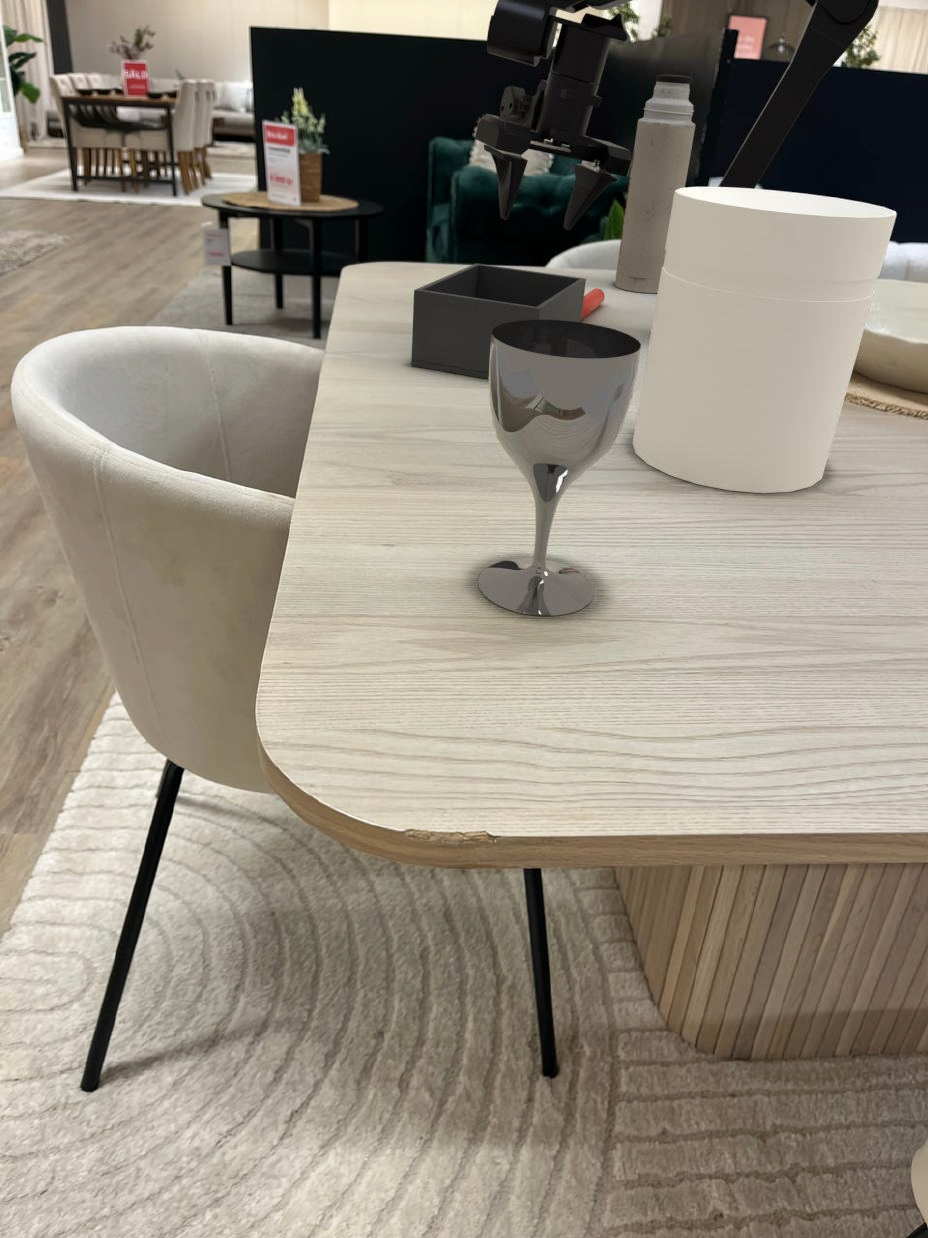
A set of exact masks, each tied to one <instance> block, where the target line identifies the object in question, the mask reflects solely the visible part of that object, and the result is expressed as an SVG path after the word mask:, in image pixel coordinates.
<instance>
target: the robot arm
mask: <svg viewBox="0 0 928 1238" xmlns="http://www.w3.org/2000/svg"><path fill="white" fill-rule="evenodd" d="M632 1H633V0H497V2H496V5H495V8H494V10H493V11H494V12H493V14H491V16H490V19H489V23H488V29H487V36H486V52H487V53H488V54H490V55H495V56H497V57H501V58H505V59H506V60H507V59H508V60H511V61H515V62H517V63H522V64H525V65H528V66H531V67H536V66H538V64H539V63H540V60H541V58H542V59H545V60H548V59H549V57H550V55H551V54H552V51H553V47H554V43H555V39H556V36H557V35H556V34H557V30H558V27H559V24H560V29H559V33H558V36H557V37H558V38H557V42H556V46H555V49H554V53H553V58H552V62H551V65H550V69H549V70H550V71H549V73H548V76H547V77H548V78H547V80H545V79H541V80H540V83H539V84H538V85H537V90H536V93H535V95H529V94H526V92H525V89H524V88H522V87H518V86H514V85H510V86H507V87H505V88H504V91H503V95H502V97H501V102H500V112H499V116H498V115H493V114H490V113H486V114H484V115H483V116H482V118H481V119H480V120H479V122H477V125H476V126H477V127H476V130H475V135H474V139H475V140H476V141H479V142H480V143H483V150H484V151H485V152H487V153H489V154H490V155H491V159H492V160H493V163H494V165H495V171H496V177H497V189H498V202H499V215H500V218H501V219H503V220H508V218H509V216H510V214H511V212H512V210H513V207H514V204H515V201H516V198H517V195H518V192H519V189H520V187H521V183H522V181H523V178H524V175H525V172H526V168H527V164H528V162H529V160H528V159H526V158H524V157H522V155H524V154H525V153H526V152H527V151H529V150H531V151H537V152H541V153H545V154H550V155H554V156H555V155H556V156H560V157H565V158H569V159H573V160H577V161H581V163H573V169H574V177H575V178H574V184H573V187H572V191H571V194H570V198H569V200H568V204H567V209H566V212H565V215H564V222H563V229H565V230H567V231H569V230H571V229H572V228H574V225H575V224H576V223H577V222H578V221H579V219H580V218H581V217H582V216H583V215H584V213H586V211H587V210H588V209H589V207H591V205H592V203H593V202H594V201H595V200H596V199H597V198H598V197H599V196H600V195H601V194H602V193H603V192H604V191H605V190H606V189H607V188H608V186H609V185H611V184H612V183H614V184H616V183H617V182H618V180H619V178H618V177H616V176H619V177H625V178H626V177H629V173H630V171H631V167H632V160H633V159H632V155H631V150H630V149H628V148H625V147H623V146H621V145H618V144H615V143H612V142H611V141H607V140H602V139H599V138H593V137H590V136H588V135H586V133H587V129H588V126H589V122H590V119H591V116H592V111H593V108H594V107H595V108H600V107H601V104H602V100H603V97H601V96H599V95H597V93H598V91H599V85H600V83H601V78H602V75H603V71H604V69H605V65H606V61H607V58H608V55H609V51H610V47H611V44H612V40H615V41H618V42H622V43H625V44H627V43H629V42H630V41H631V35H630V34H629V32H628V29H627V28H626V25H625V20H624V15H623V14H621V13H617V14H616V15H615V16H614V17H612V18H611V19H609V18H605V17H602V16H599V15H595V14H592V13H588V12H586V13H585V14H584V15H583V17H582V19H581V21H580V22H578V21H574V20H571V19H566V18H563V17H560V16H557V12H558V11H562V12H566V13H569V14H576V13H578V12H581V11H583V10H585V9H588V8H592V9H594V10H597V11H607V10H611V9H614V8H616V7H618V6H619V7H620V6H622V5H624V4H628V3H630V2H632ZM804 1H805V3H807V4H808V5H809V7H810V8H811V9H810V12H809V14H808V17H807V19H806V21H805V24H804V26H803V29H802V31H801V33H800V37H799V40H798V41H797V44H796V47H795V49H794V52H793V55H792V58H791V60H790V63H789V64H788V66H787V67H786V70H785V71H784V72H783V75H782V76H781V78H780V80H779V81H778V83H777V85H776V86H775V88H774V90H773V92H772V93H771V95H770V97H769V99H768V100H767V102H766V104H765V106H764V107H763V109H762V111H761V112H760V114H759V116H758V118H756V121H755V122H754V124H753V126H752V127H751V129H750V131H749V132H748V134H747V136H746V138H745V140H744V141H743V143H742V145H741V146H740V148H739V150H738V152H737V154H735V157H734V159H733V160H732V162H731V163H730V165H729V167H728V169H727V170H726V172H725V174H724V176H723V177H722V179H721V181H720V182H719V184H718V185H717V187H732V188H750V189H756V187H757V185H758V184H759V182H760V181H761V179H762V178H763V176H764V174H765V172H766V171H767V169H768V167H769V166H770V164H771V163H772V161H773V159H774V157H775V156H776V154H777V153H778V151H779V150H780V147H781V146H782V144H783V143H784V142H785V140H786V138H787V136H788V135H789V133H790V131H791V129H792V128H793V126H794V125H795V123H796V121H797V119H798V118H799V117H800V115H801V113H802V111H803V110H804V108H805V107H806V105H807V103H808V102H809V100H810V99H811V97H812V96H813V94H814V91H815V90H816V88H817V87H818V85H819V83H820V82H821V80H822V79H823V78H824V77H825V75H827V73H828V72H829V71H830V70H831V68H832V67H833V66H834V65H835V64H836V63H837V62H838V60H839V59H840V58H841V57H842V56H843V54H844V53H845V52H846V51H847V50H848V49H849V47H850V46H851V45H852V44H853V42H855V40H856V39H857V38H858V37H859V36H860V34H861V33H862V32H863V31H864V29H865V28H866V27H867V26H868V24H869V23H870V22H871V21H872V19H873V17H874V16H875V14H876V12H877V9H878V8H879V3H880V0H804ZM564 143H567V144H568V145H567V144H564ZM614 175H615V176H614Z"/></svg>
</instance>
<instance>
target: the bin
mask: <svg viewBox="0 0 928 1238" xmlns="http://www.w3.org/2000/svg"><path fill="white" fill-rule="evenodd" d="M586 283H587V278H585V277H576V276H569V275H563V274H554V273H547V272H539V271H533V270H525V269H519V268H512V267H504V266H498V265H489V264H483V263H474V264H472V265H469V266H467V267H464V268H462V269H460V270H457V271H456V272H455V271H454V272H453V273H451V274H448V275H446V276H443V277H441V278H439V279H437V280H434V281H432V282H429V283H426V284H424V285H422V286H420V287H418V288H416V289H413V306H412V307H413V309H412V334H411V335H412V336H411V339H412V340H411V361H410V365H411V367H417V368H422V369H428V370H435V371H438V372H439V371H440V372H444V373H445V372H446V373H451V374H457V375H463V376H469V377H474V378H480V379H486V380H489V354H490V343H491V334H492V330H493V329H494V328H495V327H497V326H498V325H501V324H504V323H508V322H514V321H522V320H562V321H572V322H581V323H582V319H581V315H582V307H583V299H584V296H585V290H586V285H587V284H586Z"/></svg>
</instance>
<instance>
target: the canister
mask: <svg viewBox="0 0 928 1238" xmlns="http://www.w3.org/2000/svg"><path fill="white" fill-rule="evenodd" d="M897 215H898V213H897V211H896V210H892V209H890V208H888V207H886V206H881V205H877V204H872V203H868V202H863V201H857V200H851V199H846V198H840V197H832V196H826V195H820V194H819V195H818V194H812V193H811V194H810V193H803V192H794V191H793V192H792V191H784V190H773V189H760V188H755V189H750V188H732V187H718V186H688V187H686V186H685V188H679V189H677V190H675V192H674V198H673V204H672V210H671V216H670V222H669V228H668V234H667V240H666V246H665V250H666V254H665V260H664V266H663V267H662V270H661V276H660V282H659V288H658V293H656V294H657V295H656V300H655V306H654V311H653V313H654V314H653V319H652V324H651V331H650V336H649V342H648V347H647V354H646V360H645V366H644V367H645V368H644V372H643V378H642V383H641V390H640V396H639V401H638V407H637V413H636V420H635V425H634V432H633V438H632V446H633V450H634V453H635V454H636V455H637V456H638V457H639V458H640V459H641V460H643V462H645V463H646V464H647V465H649V466H651V468H654V469H655V470H656V469H657V470H658V471H660V472H663V473H664V474H665V475H666V474H667V475H668V476H671V477H674V478H677V479H679V480H683V481H686V482H689V483H692V484H696V485H699V486H703V487H710V488H714V489H719V490H720V489H721V490H724V491H731V492H743V493H755V494H756V493H757V494H773V493H791V492H795V491H799V490H803V489H806V488H811V487H813V486H814V485H816V483H818V482H819V481H821V480H822V479H823V476H824V473H825V469H826V465H827V463H828V459H829V455H830V452H831V447H832V444H833V442H834V437H835V434H836V430H837V428H838V423H839V420H840V416H841V412H842V409H843V406H844V402H845V398H846V395H847V392H848V388H849V384H850V381H851V377H852V374H853V371H854V367H855V363H856V360H857V357H858V352H859V349H860V346H861V342H862V339H863V335H864V331H865V328H866V323H867V321H868V317H869V313H870V310H871V307H872V304H873V300H874V296H875V295H874V294H875V293H874V291H875V286H876V284H877V280H878V277H880V275H881V271H882V268H883V264H884V261H885V257H886V254H887V250H888V247H889V244H890V239H891V236H892V233H893V229H894V226H895V223H896V219H897Z"/></svg>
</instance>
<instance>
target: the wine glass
mask: <svg viewBox="0 0 928 1238" xmlns="http://www.w3.org/2000/svg"><path fill="white" fill-rule="evenodd" d="M641 349H642V344H641V342H640V341H639V339H637V338H636V337H633V336H632V335H630V334H628V333H626V332H623V331H620V330H618V329H615V328H610V327H606V326H603V325H598V324H593V323H592V324H591V323H586V322H582V321H581V322H572V321H562V320H522V321H514V322H508V323H504V324H501V325H498V326H497V327H495V328H494V329H493V330H492V334H491V343H490V354H489V379H488V392H489V406H490V414H491V420H492V425H493V429H494V432H495V436H496V438H497V440H498V441H499V444H500V446H501V447H502V449H503V450H504V452H505V453H506V454H507V455H508V457H509V458H510V460H511V461H512V462H513V464H514V465H515V466H516V468H517V469H518V470H519V472H520V473H521V475H523V477H524V479H525V480H526V482H527V484H528V487H529V488H530V491H531V493H532V496H533V500H534V509H535V510H534V511H535V513H534V514H535V532H534V533H535V536H534V548H533V555H532V558H528V557H527V558H526V557H525V558H511V559H505V560H501V561H498V562H495V563H493V564H491V565H489V566H487V567H485V569H484V570H483V571H482V572H481V573H480V574H479V576H478V579H477V580H478V581H477V582H478V588H479V590H480V592H481V593H482V595H483V596H484V597H486V598H487V599H488V600H489V601H491V602H492V603H494V604H495V605H497V606H500V607H502V608H504V609H506V610H509V611H512V612H516V613H519V614H524V615H530V616H541V617H542V616H543V617H552V616H553V617H555V616H562V615H563V616H564V615H569V614H572V613H575V612H579V611H580V610H583V609H584V608H586V607H587V606H589V605H590V604H591V602H593V599H594V597H595V589H594V585H593V583H592V582H591V580H590V579H589V578H588V577H587V576H586V575H584V574H583V573H582V572H580V571H579V570H577V569H575V568H573V567H571V566H570V565H569V566H568V565H566V564H564V563H560V562H556V561H552V560H548V559H547V554H548V547H549V546H548V545H549V541H550V540H549V538H550V534H551V530H552V527H553V526H552V525H553V522H554V519H555V515H556V510H557V508H558V505H559V502H560V501H561V499H562V498H563V496H564V495H565V493H566V491H567V490H568V489H569V488H570V487H571V486H572V485H573V484H574V483H575V482H576V481H577V480H578V479H579V478H581V477H582V476H583V475H584V474H586V473H587V472H588V471H589V470H590V469H592V468H593V467H594V466H595V465H597V464H598V463H599V462H600V461H601V460H603V458H604V457H605V456H606V455H607V454H608V453H609V452H610V451H611V449H612V447H613V446H614V444H615V443H616V440H617V438H618V437H619V434H620V432H621V430H622V427H623V425H624V422H625V421H626V417H627V414H628V411H629V408H630V404H631V401H632V398H633V396H634V395H633V394H634V390H635V386H636V381H637V376H638V371H639V363H640V357H641Z"/></svg>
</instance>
